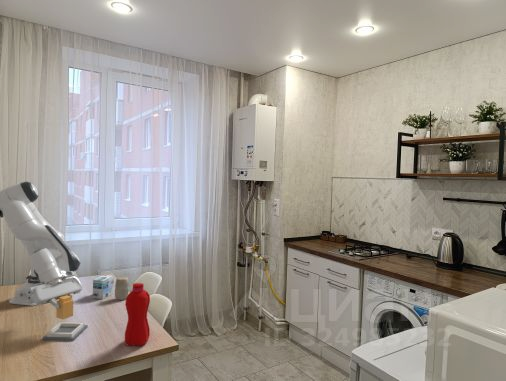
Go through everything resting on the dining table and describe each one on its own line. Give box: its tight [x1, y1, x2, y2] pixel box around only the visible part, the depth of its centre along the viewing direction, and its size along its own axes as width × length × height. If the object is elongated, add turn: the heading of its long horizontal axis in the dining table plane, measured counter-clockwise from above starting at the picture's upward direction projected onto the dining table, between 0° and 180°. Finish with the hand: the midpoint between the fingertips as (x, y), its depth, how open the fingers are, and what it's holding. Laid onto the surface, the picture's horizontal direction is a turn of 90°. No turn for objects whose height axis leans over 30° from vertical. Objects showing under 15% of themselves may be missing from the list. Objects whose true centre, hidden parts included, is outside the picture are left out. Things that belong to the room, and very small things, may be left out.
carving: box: [114, 276, 130, 301], centre depth 194 cm, size 6×8×12 cm
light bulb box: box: [92, 274, 115, 300], centre depth 197 cm, size 11×7×11 cm, turn 168°
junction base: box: [41, 321, 88, 342], centre depth 151 cm, size 13×13×2 cm
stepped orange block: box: [55, 295, 74, 320], centre depth 150 cm, size 5×5×9 cm
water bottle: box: [124, 282, 151, 347], centre depth 146 cm, size 9×11×25 cm
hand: (65, 305), depth 150 cm, fingers closed on stepped orange block, 5 cm apart
